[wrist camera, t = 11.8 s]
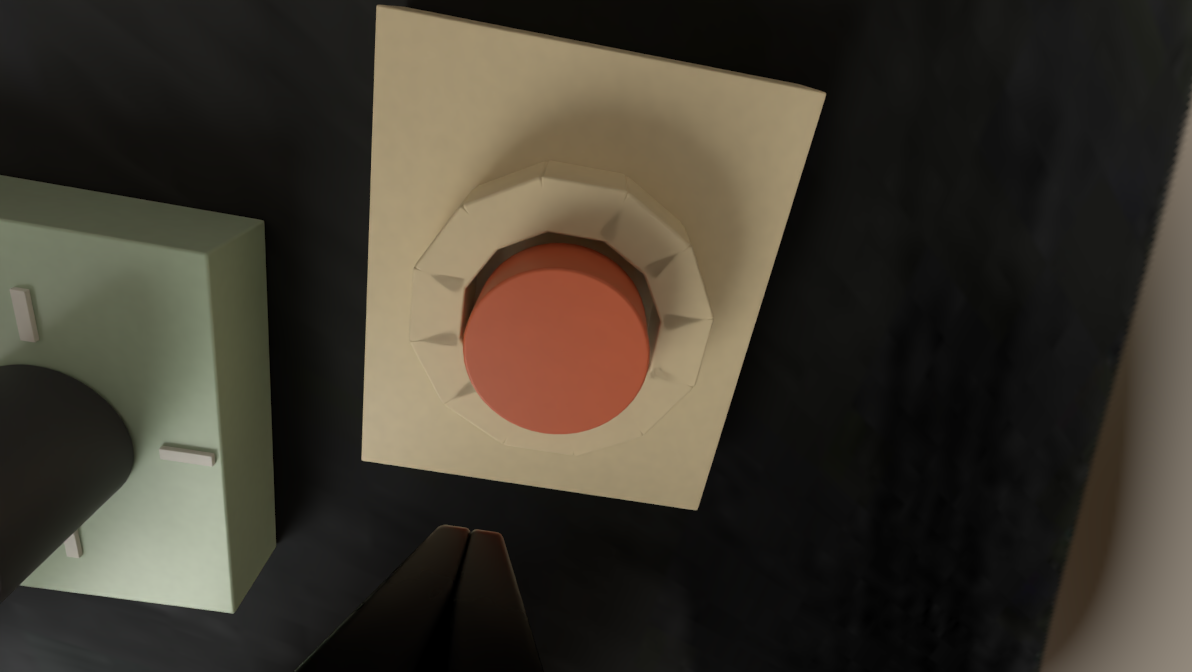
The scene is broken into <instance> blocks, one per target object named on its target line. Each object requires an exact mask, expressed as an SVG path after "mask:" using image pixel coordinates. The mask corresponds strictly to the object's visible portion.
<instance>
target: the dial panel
mask: <svg viewBox="0 0 1192 672" xmlns="http://www.w3.org/2000/svg"><path fill="white" fill-rule="evenodd" d="M20 364H24V365H35V366H40V367H45V368H49V369H52V370H55V371H58V372H61V373H63V374H66V375H68V376H70V377H72V378H74V379H76V380H78V381H80V382H82V383H83V384H85V385H86V386H88V387H90V388H91V389H92V390H94V391H95V392H96V393H98V394H99V395H100V396H101V397H102V398H104V399H105V400H106V401H107V402H108V403H109V404H110V405H111V406H112V408H113V409H114V410H115V411H116V412H117V413H118V415H119V416H120V418H121V419H122V421H123V422H124V424H125V426H126V428H127V430H128V432H129V434H130V437H131V440H132V444H133V450H134V461H133V466H132V470H131V473H130V475H129V477H128V479H127V481H126V482H125V483H124V484H123V486H122V487H121V488H120V489H119V490H118V491H117V492H116V493H115V494H114V495H113V496H111V497H110V498H109V499H108V500H107V501H106V502H105V503H104V504H103V505H102V506H101V507H100V508H99V509H98V510H97V511H96V512H95V513H94V514H93V515H92V516H91V517H90V518H89V519H88V520H87V521H85V522H84V523H83V524H82V525H81V526H80V527H79V528H78V529H77V530H76V531H75V532H74V533H73V534H72V535H71V536H70V537H69V538H68V539H67V540H66V541H65V542H64V543H63V544H62V545H61V546H59V547H58V548H57V549H56V550H55V551H54V552H53V553H52V554H51V555H50V556H49V557H48V558H47V559H46V560H45V561H44V562H43V563H42V564H41V565H40V566H39V567H38V568H37V569H36V570H35V571H34V572H32V573H31V574H30V575H29V576H28V577H27V578H26V579H25V580H24V581H23V582H22V583H21V584H20V585H21V586H28V587H36V588H44V589H51V590H59V591H66V592H74V593H81V594H89V595H97V596H104V597H112V598H119V599H127V600H135V601H142V602H150V603H157V604H165V605H172V606H180V607H188V608H195V609H203V610H210V611H218V612H226V613H235V611H236V610H237V608H238V607H239V605H240V603H241V602H242V600H243V599H244V597H245V595H246V594H247V592H248V591H249V589H250V587H251V586H252V584H253V583H254V581H255V579H256V578H257V576H258V575H259V573H260V571H261V570H262V568H263V567H264V565H265V563H266V562H267V560H268V559H269V557H270V555H271V554H272V552H273V551H274V549H275V547H276V527H275V500H274V472H273V445H272V418H271V390H270V363H269V336H268V308H267V281H266V254H265V226H264V221H263V220H259V219H253V218H247V217H241V216H236V215H230V214H224V213H218V212H212V211H207V210H201V209H195V208H189V207H183V206H178V205H172V204H166V203H160V202H154V201H148V200H143V199H137V198H131V197H125V196H119V195H114V194H108V193H102V192H96V191H90V190H85V189H79V188H73V187H67V186H61V185H55V184H50V183H44V182H38V181H32V180H26V179H21V178H15V177H9V176H3V175H0V366H6V365H20Z"/></svg>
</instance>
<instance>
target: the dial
mask: <svg viewBox="0 0 1192 672" xmlns="http://www.w3.org/2000/svg"><path fill="white" fill-rule="evenodd" d="M133 461H134V450H133V444H132V440H131V437H130V434H129V432H128V430H127V428H126V426H125V424H124V422H123V421H122V419H121V418H120V416H119V415H118V413H117V412H116V411H115V410H114V409H113V408H112V406H111V405H110V404H109V403H108V402H107V401H106V400H105V399H104V398H102V397H101V396H100V395H99V394H98V393H96V392H95V391H94V390H92V389H91V388H90V387H88V386H86V385H85V384H83V383H82V382H80V381H78V380H76V379H74V378H72V377H70V376H68V375H66V374H63V373H61V372H58V371H55V370H52V369H49V368H45V367H40V366H35V365H24V364H20V365H6V366H0V603H1V602H2V601H3V600H4V599H5V598H6V597H8V596H9V595H10V594H11V593H12V592H13V591H14V590H15V589H16V588H17V587H18V586H19V585H20V584H21V583H22V582H23V581H24V580H25V579H26V578H27V577H28V576H29V575H30V574H31V573H32V572H34V571H35V570H36V569H37V568H38V567H39V566H40V565H41V564H42V563H43V562H44V561H45V560H46V559H47V558H48V557H49V556H50V555H51V554H52V553H53V552H54V551H55V550H56V549H57V548H58V547H59V546H61V545H62V544H63V543H64V542H65V541H66V540H67V539H68V538H69V537H70V536H71V535H72V534H73V533H74V532H75V531H76V530H77V529H78V528H79V527H80V526H81V525H82V524H83V523H84V522H85V521H87V520H88V519H89V518H90V517H91V516H92V515H93V514H94V513H95V512H96V511H97V510H98V509H99V508H100V507H101V506H102V505H103V504H104V503H105V502H106V501H107V500H108V499H109V498H110V497H111V496H113V495H114V494H115V493H116V492H117V491H118V490H119V489H120V488H121V487H122V486H123V484H124V483H125V482H126V481H127V479H128V477H129V475H130V473H131V470H132V466H133Z"/></svg>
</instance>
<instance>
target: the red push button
mask: <svg viewBox="0 0 1192 672" xmlns="http://www.w3.org/2000/svg"><path fill="white" fill-rule="evenodd" d="M463 357H464V364H465V367H466V371H467V374H468V376H469V379H470V381H471V383H472V385H473V387H474V388H475V390H476V392H477V393H478V395H479V396H480V397H481V399H482V400H483V401H484V402H485V403H486V404H487V405H488V406H489V407H490V408H491V409H492V410H493V411H494V412H496V413H497V414H498V415H499V416H501V417H502V418H504V419H506V420H507V421H509V422H511V423H513V424H515V425H517V426H519V427H521V428H525V429H528V430H531V431H535V432H539V433H545V434H572V433H579V432H583V431H587V430H590V429H593V428H596V427H599V426H601V425H603V424H605V423H607V422H609V421H610V420H612V419H613V418H615V417H616V416H618V415H619V414H620V413H621V412H622V411H623V410H625V409H626V408H627V407H628V406H629V404H630V403H631V402H632V401H633V400H634V399H635V397H636V396H637V394H638V393H639V391H640V389H641V387H642V385H643V383H644V381H645V378H646V375H647V372H648V368H649V362H650V345H649V337H648V330H647V323H646V317H645V310H644V306H643V302H642V298H641V296H640V294H639V291H638V289H637V287H636V286H635V284H634V282H633V281H632V279H631V278H630V277H629V276H628V274H627V273H626V272H625V271H624V270H623V269H622V268H621V267H620V266H619V265H618V264H617V263H615V262H614V261H613V260H611V259H610V258H608V257H607V256H605V255H603V254H601V253H599V252H598V251H595V250H593V249H590V248H587V247H584V246H580V245H576V244H568V243H548V244H541V245H537V246H533V247H530V248H527V249H525V250H522V251H520V252H518V253H516V254H514V255H513V256H511V257H509V258H508V259H506V260H505V261H504V262H503V263H501V264H500V265H499V266H498V267H497V268H496V269H495V270H494V271H493V272H492V274H491V275H490V277H489V278H488V279H487V281H486V283H485V285H484V286H483V288H482V290H481V293H480V295H479V297H478V299H477V301H476V304H475V306H474V308H473V310H472V312H471V315H470V317H469V319H468V322H467V325H466V328H465V333H464V338H463Z"/></svg>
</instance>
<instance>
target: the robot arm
mask: <svg viewBox="0 0 1192 672" xmlns="http://www.w3.org/2000/svg"><path fill="white" fill-rule="evenodd" d="M294 672H544V671H543V667H542V664H541V661H540V658H539V654H538V651H537V648H536V644H535V641H534V638H533V634H532V631H531V628H530V625H529V621H528V618H527V615H526V611H525V608H524V605H523V602H522V598H521V595H520V592H519V588H518V585H517V582H516V578H515V575H514V572H513V569H512V565H511V562H510V559H509V555H508V552H507V549H506V545H505V542H504V539H503V537H502V535H501V534H500V533H498V532H492V531H485V530H478V529H475V530H473V531H472V532H471V534H470V530H469V529H468V528H464V527H457V526H450V525H441V526H439V527H438V528H437V529H436V530H435V531H434V532H433V533H432V534H431V535H430V536H429V537H428V538H427V539H426V540H425V541H424V542H423V543H422V544H421V545H420V546H419V547H418V548H417V549H416V550H415V551H414V552H413V553H412V554H411V555H410V556H409V557H408V558H407V559H406V560H405V561H404V562H403V563H402V564H401V565H400V566H399V567H398V568H397V569H396V570H395V571H394V572H393V573H392V574H391V575H390V576H389V577H388V578H387V579H386V580H385V581H384V582H383V583H382V584H381V585H380V586H379V587H378V588H377V589H376V590H375V591H374V592H373V593H372V594H371V595H370V596H369V597H368V598H367V599H366V600H365V601H364V602H363V603H362V604H361V605H360V606H359V607H358V608H357V609H356V610H355V611H354V612H353V613H352V614H351V615H350V616H349V617H348V618H347V619H346V620H345V621H344V622H343V623H342V624H341V625H340V626H339V627H338V628H337V629H336V630H335V631H334V632H333V633H332V634H331V635H330V636H329V637H328V638H327V639H326V640H325V641H324V642H323V643H322V644H321V645H320V646H319V647H318V648H317V649H316V650H315V651H314V652H313V653H312V654H311V655H310V656H309V657H308V658H307V659H306V660H305V661H304V662H303V663H302V664H301V665H300V666H299V667H298V668H297V669H296V670H295V671H294Z"/></svg>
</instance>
